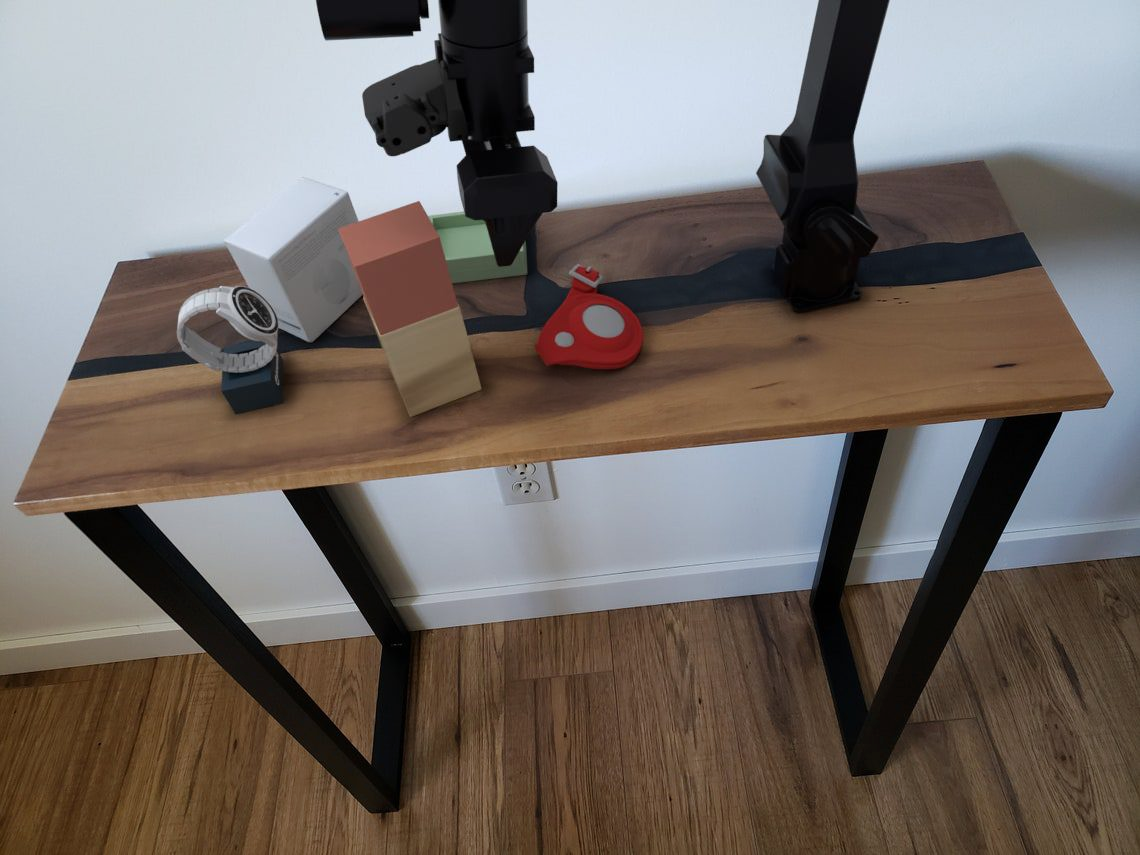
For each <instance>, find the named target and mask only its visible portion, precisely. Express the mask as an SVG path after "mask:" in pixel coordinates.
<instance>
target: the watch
mask: <svg viewBox="0 0 1140 855" xmlns="http://www.w3.org/2000/svg"><path fill="white" fill-rule="evenodd" d="M215 310H216V311H215ZM207 311H215V313H216V315H218V316H220V317H221V318H223V319H225V320H227V322H229V324H230V325H231V326H232V327H233V328H234V329H235V331H236V332H238V333H239V334H240V335H242V336H243V337H245V338H247V339H248V340H250V341H246V342H240V343H236V344H232V345H227V346H223V350H222V348H220V347H219V346H216V345H214V344H212V343H210V342H209V341H207V340H205V339H204V338H202V337H201V336H200V335H199V334H197V332H195V331H194V330H191V329H190V328H189V326H187V325H186V326H185V323H187V321H188V320H190V319H191V318H192V317H194V316H196V315H198V314H199V313H203V312H207ZM278 327H279V324H278V318H277V316H276V313H275V311H274V310H273V308H272V307H271V305H270V304H269V303H268V302H267V300H266V299H265V298H263V297H262V296H261V295H260V294H259V293H257V292H256V291H254V290H253V289H250V288H249V287H248V286H245V285H236V286H234V287H233V286H226V285H220V286H219V287H213V288H209V289H208V288H206V289H203V290H201V291H199V292H195V293H194V294H192V295H191V296H190V297H188V298H187V299H186V300H185V301H184V302H183V303H182V305H181V307H180V309H179V312H178V317H177V327H176V337H177V341H178V343H179V345H180V347H181V350H182V352H184V353H185V354H186V355H188V356H189V357H190V358H191V359H193V360H195V361H196V362H198V363H199V364H200V365H203V366H205V367H206V368H209V369H210V370H213V371H215V372H218V373H219V372H220V371H221V385H220V386H221V387H220V391H221V393H222V395H223V397H224V399H225V400H226V402H227V403H228V405H229V406H230V408H231V409H232V411H233V413H234V414H235V415H237V414H242V413H246V412H251V411H254V410H259V409H265V408H268V407H269V408H270V407H272V406H277V405H283V404H284V359H283V356H282V355H281V353H280V351H279V350H278V330H279V328H278Z"/></svg>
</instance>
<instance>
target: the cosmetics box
mask: <svg viewBox="0 0 1140 855" xmlns="http://www.w3.org/2000/svg"><path fill="white" fill-rule="evenodd" d="M359 221H360V220H359V218H358V215H357V213H356V210H355V208H354V206H353V202H352V200H351V196H350V194H349V191H347V190H344V189H341V188H338V187H335V186H332V185H330V184H326V183H323V182H321V181H317V180H315V179H311V178H309V177H304V176H302V177H300V178H299V179H298V180H297V181H295V182H294V183H292V185H290V186H289V187H288V188H287V189H285V190H284V191H283V192H282V193H281V194H279V195H278V196H277V197H276V198H274V199H273V200H272V201H271V202H269V203H268V204H267V205H265V206H264V208H262V209H261V210H259V211H258V212H257V213H256V214H255V215H253V216H252V217H250V219H248V220H247V221H246V222H245V223H243V224H242V225H241V226H240V227H238V228H237V229H236V230H234V232H232V233H231V234H230V235H228V236H227V237H226V238H225V239H223V242H224V245H225V246H226V248H227V249H228V251H229V254H230V255H231V257H232V259H233V261H234V263H235V264H236V266H237V268H238V270H239V273H241V275H242V277H243V279H244V281H245V283H246V285H247V287H248V288H250V289H253V290H254V291H256V292H257V293H259V294H260V295H261V296H262V297H263V298H265V299H266V300H267V302H268V303H269V304H270V305H271V307H272V308H273V310H274V311H275V313H276V316H277V318H278V324H279V327H278V329H280V330H282V331H285V332H287V333H289V334H291V335H293V336H294V337H296V338H300V339H301V340H303V341H305V342H307V343H313V342H314V341H316V340H317V339H318V338H319V337H320V336H321V335H322V334H323V333H324V332H325V331H326V330H327V329H328V328H330V327H331V325H333V324H334V322H335V321H337V320H338V319H339V318H340V317H341V316H342V315H343V314H344V313H345V312H346V311H347V310H348V309H349V308H350V307H351V306H352V305H354V304H355V302H357V301H358V300H359V299H360V298H361V297H362V296H363V293H362V291H361V288H360V285H359V283H358V280H357V278H356V275H355V272H354V270H353V267H352V264H351V262H350V259H349V257H348V254H347V251H346V249H345V246H344V243H343V241H342V238H341V236H340V233H339V230H338V228H341V227H344V226H347V225H350V224H353V223H356V222H359Z"/></svg>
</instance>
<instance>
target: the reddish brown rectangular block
mask: <svg viewBox="0 0 1140 855" xmlns="http://www.w3.org/2000/svg"><path fill="white" fill-rule="evenodd" d="M428 216H429V215H428V214H427V212H426V210H425V208H424V206H423V205H422V203H421V201H420V200H418V201H414V202H412V203H408V204H406V205H403V206H400V207H397V208H393V209H392V210H388V211H386V212H382V213H380V214H376V215H374V216H370V217H368V218H365V219H362V220H358V221H359V222H356V223H353V224H350V225H347V226H344V227H341V228H338V230H339V233H340V236H341V238H342V241H343V243H344V246H345V249H346V251H347V254H348V257H349V259H350V262H351V264H352V267H353V270H354V272H355V275H356V278H357V280H358V283H359V285H360V288H361V291H362V293H363V295H362V296H363V297H364V298H365V301H366V303H367V305H368V308H369V310H370V312H371V315H372V317H373V319H374V322H375V324H376V326H377V328H378V331H379V333H380V335H383V334H386V333H388V332H391V331H394V330H396V329H399V328H402V327H404V326H407V325H410V324H413V323H415V322H418V321H421V320H423V319H426V318H429V317H432V316H434V315H437V314H440V313H442V312H445V311H448V310H451V309H453V308H456V307H458V305H459V303H458V300H457V297H456V292H455V289H454V285H453V283H452V281H451V278H450V274H449V270H448V266H447V263H446V259H445V255H444V252H443V248H442V244H441V240H440V237H439V235H438V233H437V232H436V230H435V228H434V226H433V224H432V223H431V221H430V219H429V217H428ZM457 303H458V304H457Z"/></svg>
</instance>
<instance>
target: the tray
mask: <svg viewBox="0 0 1140 855" xmlns="http://www.w3.org/2000/svg"><path fill="white" fill-rule="evenodd" d="M428 217H429V219H430V221H431V223H432V224H433V226H434V228H435V230H436V232H437V233H438V235H439V237H440V240H441V244H442V248H443V252H444V255H445V259H446V263H447V266H448V270H449V274H450V278H451V281H452V284H459V283H466V282H467V283H469V282H476V281H484V280H492V279H493V280H494V279H500V278H508V277H519V276H525V275H526V276H527V275H528V273H529V272H528V258H527V256H528V255H527V241H526V240H527V239H526V240H525V242H524V244H523V246H522V247H521V249H520V251H519V253H518V255H517V256H516V258H515V260H514V262H513V264H512V265H510V266H504V267H499V266H497V263H496V259H495V256H494V252H493V248H492V245H491V241H490V238H489V234H488V230H487V227H486V223H485V222H484V221H483V220H476V221H475V220H473V219H470V218H467V217H465V213H464V210H463V211H456V212H447V213H441V214H433V215H428Z"/></svg>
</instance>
